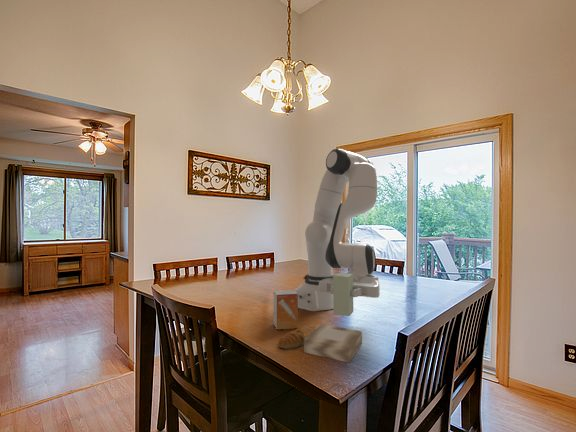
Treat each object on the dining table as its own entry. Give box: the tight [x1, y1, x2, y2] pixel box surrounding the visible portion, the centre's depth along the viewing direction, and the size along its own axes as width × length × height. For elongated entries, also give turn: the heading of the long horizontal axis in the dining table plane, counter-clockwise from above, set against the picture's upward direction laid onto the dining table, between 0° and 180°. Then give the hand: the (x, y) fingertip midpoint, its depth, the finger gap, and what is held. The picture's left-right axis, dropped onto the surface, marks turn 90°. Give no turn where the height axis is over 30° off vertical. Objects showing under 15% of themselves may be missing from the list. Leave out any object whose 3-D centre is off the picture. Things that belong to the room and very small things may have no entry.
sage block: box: [332, 272, 354, 317], centre depth 95 cm, size 5×5×12 cm
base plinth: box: [303, 324, 363, 363], centre depth 94 cm, size 14×14×4 cm
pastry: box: [278, 329, 307, 350], centre depth 97 cm, size 9×7×4 cm
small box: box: [273, 289, 299, 330], centre depth 112 cm, size 8×6×13 cm
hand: (342, 292), depth 95 cm, fingers closed on sage block, 5 cm apart
